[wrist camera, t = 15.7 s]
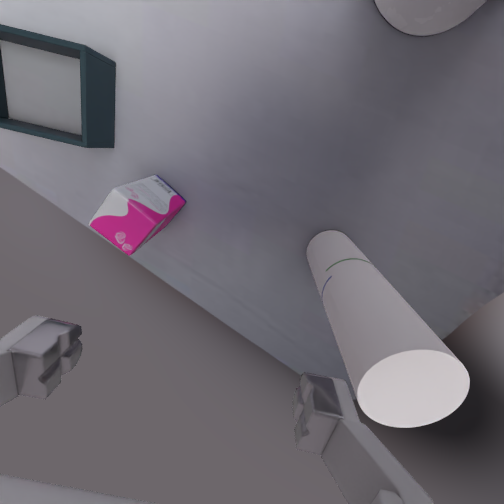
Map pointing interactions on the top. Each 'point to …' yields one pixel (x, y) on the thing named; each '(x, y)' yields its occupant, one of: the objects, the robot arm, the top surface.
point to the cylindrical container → (384, 339)
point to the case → (92, 91)
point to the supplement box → (136, 212)
